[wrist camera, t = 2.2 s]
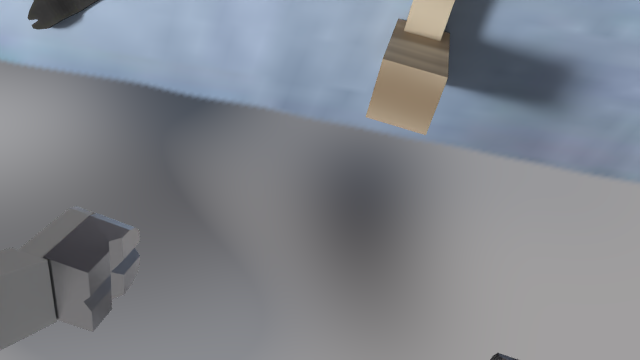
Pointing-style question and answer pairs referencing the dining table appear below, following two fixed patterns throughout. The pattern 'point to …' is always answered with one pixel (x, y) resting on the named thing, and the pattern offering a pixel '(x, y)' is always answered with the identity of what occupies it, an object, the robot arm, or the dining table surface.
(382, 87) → the pusher
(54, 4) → the tactical tomahawk
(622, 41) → the dining table surface
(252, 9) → the dining table surface
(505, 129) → the dining table surface
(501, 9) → the dining table surface
